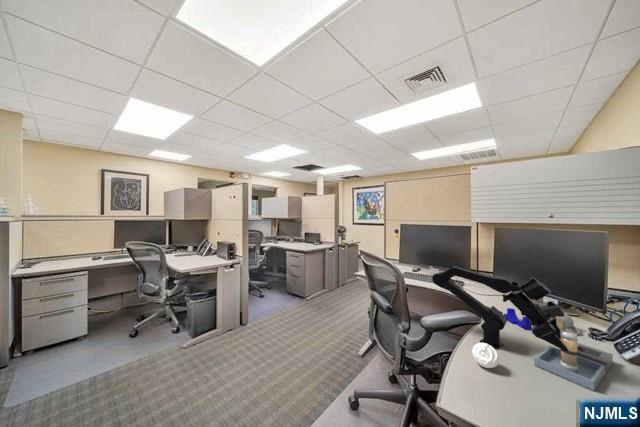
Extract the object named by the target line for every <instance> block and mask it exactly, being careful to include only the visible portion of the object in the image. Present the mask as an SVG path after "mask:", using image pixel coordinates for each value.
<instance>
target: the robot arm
mask: <svg viewBox="0 0 640 427" xmlns="http://www.w3.org/2000/svg"><path fill="white" fill-rule="evenodd" d="M455 276H456V277H459V278H462V279H466V280H469V281H472V282H475V283H479V284H481V285H485V286H487V287H488V288H490V289H491V290H494V291H497V292H498V293H501V294H502V298H503V299H502V302H503V303H506V302H508V301H509V302H510V303H512V304H513V306H514V307H515V308H516V309H517V310H518V311H519V312H520V315H521V316H522V317H527V318H528V319H529V320H530V321H531V324H532V330H531V333H532V334H533V335H534V337H535V338H537V339H539V340H543V341H545V342H547V343H549V344H551V345H553V347H555V348H556V347H557V349H560V350H561V349H562V350H563V351H568V349H567V347H566V346H565V345H564V343H563V342H562V341H561V336H560V329H559V327H558V326H557V324H556V318H555V317H558V316H559V317H563V316H565V315H564V313H565V312H564V310H563V309H562V307H561V305H560V304H559V303H556V302H554V301H551V300H550V301H547V302H546V305H544V306H541V305H539V304H538V303H534V302H533V301H532V300H535V301H539V300H541V299H542V298H545V297H546V296H548V295H550V294H552V291H551V290H550V288H549V287H548V286H546V284H544V283H543V282H541V281H539V280H538V279H536V278H535V277H532V278H530V279H529V280H528V281H526V282H524V283H521V282H517V281H513V280H512V279H510V278H509V277H506V276H501V275H490V274H489V275H488V274H484V273H480V272H477V271H473V270H470V269H465V268H462V267H459V266H457V265H455V266H452V267H449V269H447V270H445V271H440V272H437V273H434V274H433V275H432V278H431V279H432V282H433V284H435V286H437V287H439V288H441V289H443V290H446V291H448V292H450V293H451V294H453V295H454V296H455V297H457V298H458V299H459V300H461V302H463V303H464V304H465V305H466V306H468V307H469V308H471V309H472V310H474V311H475V312H476V313H477V314H478V315H479V316H480V317H481V319H482V321H483V322H482V323H481V325H480V327H481V329H482V332H483V333H482V334H483V336H482V339H480V340H479V343H487V344H488V345H491V346H492V347H493V348H494V349H495V350H498V349H499V348H501V347H503V346H504V345H505V344H504V343H502V342H501V334H500V333H501V332H500V331H502V330H504V329H505V326H506V324H507V322H508V321H507V320H506V317H505V316H504V312H503V311H500V310H498V309H497V307H495V306H494V305H492V306H491V307H490V306H487V305H485V304H483V303H482V302H481V301H479V300H478V299H476V298H475V296H472V295H471V294H470V293H468V292H467V291H466V290H464V288H462V287H461V286H459V285H458V284H456V283H455V281H454V280H453V279H452V278H453V277H455ZM551 317H552V318H554V319H551Z"/></svg>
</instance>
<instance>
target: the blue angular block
mask: <svg viewBox="0 0 640 427" xmlns="http://www.w3.org/2000/svg"><path fill="white" fill-rule="evenodd" d="M503 315H504V316H505V317H506V320H507V322H509V324H511V325H516V326H518V327H520V328H522V329H523V330H525V331H532V328H533V325H532V324H531V321H530V320H529V319H528V318H527V317H526V316H522V318H521V320H520V319H519V318H518V316H517V314H516V309H515V308H508V307H507V308H506V313H503Z"/></svg>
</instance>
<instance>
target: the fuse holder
mask: <svg viewBox="0 0 640 427" xmlns="http://www.w3.org/2000/svg"><path fill="white" fill-rule="evenodd" d="M577 351H578V355H577V356H580V357H582V358H585V359H588V360H591V361H594V362H596V363H599V364H602V365H605V373H608V371H609V370H610V368H612V365H613V364H614V360H613V358H614V357H613V354H612V353H610V352H606V351H604V350H601V349H597V348H596V347H592V346H589V345H585V344H582V343H579V342H577Z"/></svg>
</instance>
